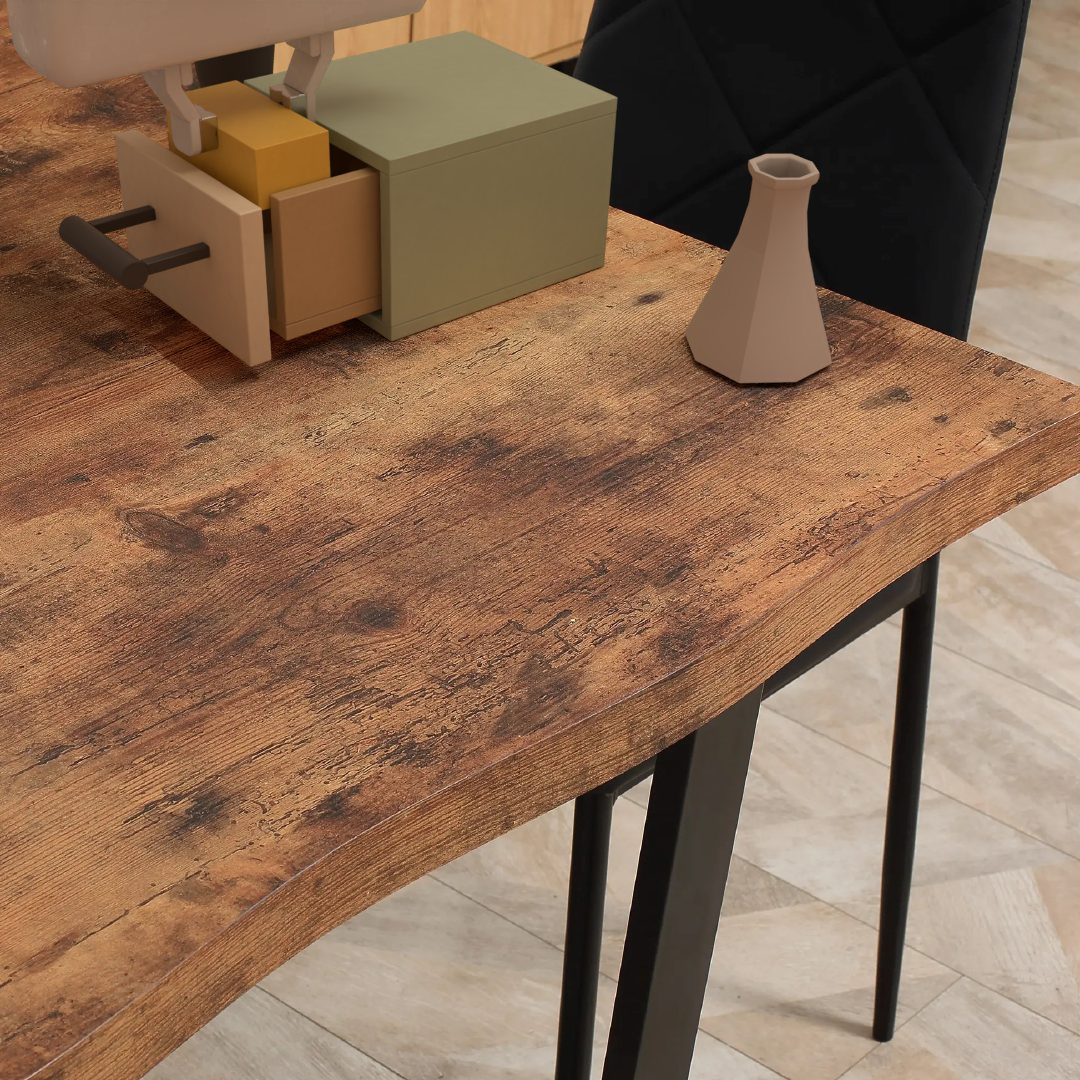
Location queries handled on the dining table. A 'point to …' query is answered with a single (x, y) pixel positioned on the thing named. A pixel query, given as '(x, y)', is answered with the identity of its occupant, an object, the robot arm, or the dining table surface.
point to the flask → (766, 285)
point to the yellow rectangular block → (258, 143)
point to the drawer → (241, 247)
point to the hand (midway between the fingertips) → (245, 137)
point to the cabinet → (471, 172)
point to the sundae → (236, 66)
